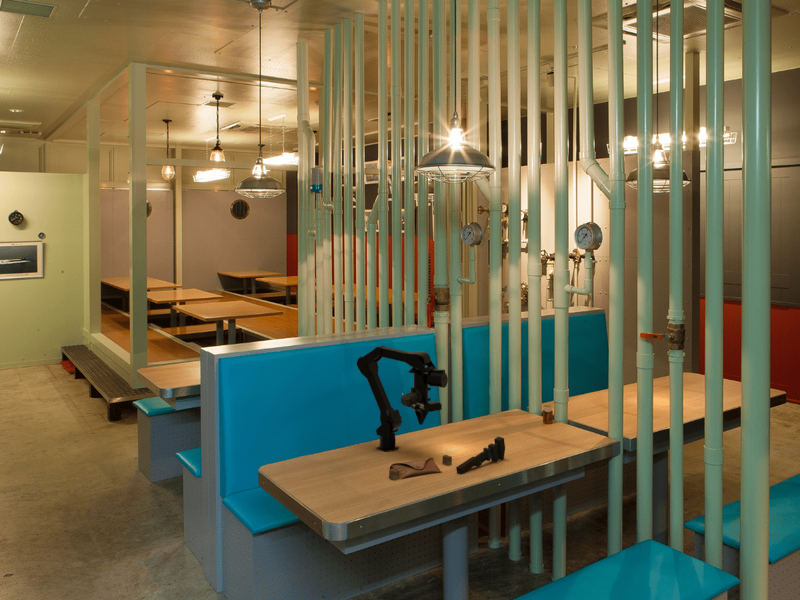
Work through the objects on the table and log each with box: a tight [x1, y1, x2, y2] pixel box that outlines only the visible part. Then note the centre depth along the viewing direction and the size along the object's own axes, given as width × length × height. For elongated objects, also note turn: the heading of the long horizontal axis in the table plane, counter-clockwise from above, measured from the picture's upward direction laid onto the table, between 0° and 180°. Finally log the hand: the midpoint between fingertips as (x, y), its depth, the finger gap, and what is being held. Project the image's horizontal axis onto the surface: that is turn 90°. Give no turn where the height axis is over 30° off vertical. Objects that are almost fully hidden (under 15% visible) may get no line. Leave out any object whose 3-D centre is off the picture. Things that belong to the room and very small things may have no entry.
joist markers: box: [388, 454, 453, 481], centre depth 235 cm, size 3×27×3 cm, turn 128°
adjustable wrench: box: [455, 436, 506, 475], centre depth 241 cm, size 8×3×25 cm
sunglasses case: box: [389, 457, 443, 480], centre depth 234 cm, size 18×7×7 cm, turn 117°
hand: (420, 424), depth 254 cm, fingers closed
